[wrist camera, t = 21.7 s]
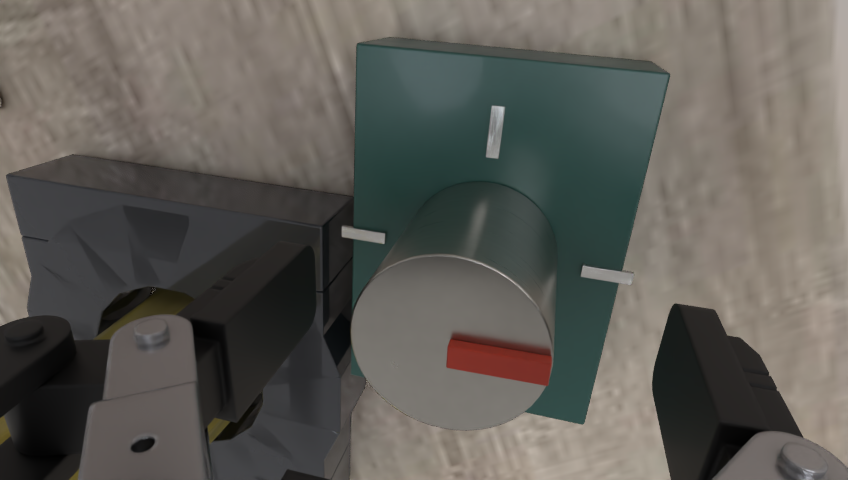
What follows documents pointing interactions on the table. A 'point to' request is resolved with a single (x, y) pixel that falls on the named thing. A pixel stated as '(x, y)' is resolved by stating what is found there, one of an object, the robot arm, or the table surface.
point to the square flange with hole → (200, 285)
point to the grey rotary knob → (462, 310)
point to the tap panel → (511, 168)
